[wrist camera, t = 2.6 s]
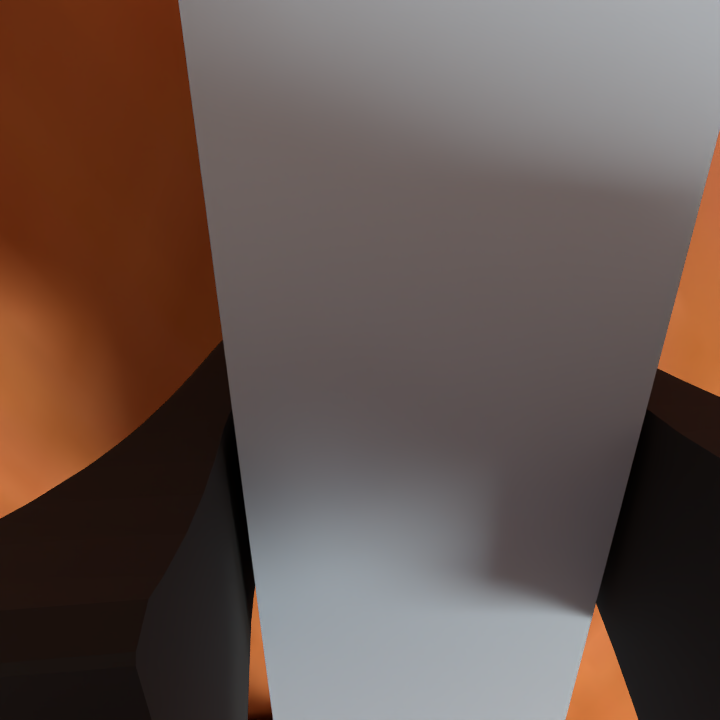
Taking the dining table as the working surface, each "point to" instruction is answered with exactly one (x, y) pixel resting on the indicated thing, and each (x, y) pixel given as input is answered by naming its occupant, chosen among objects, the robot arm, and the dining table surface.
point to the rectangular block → (443, 322)
